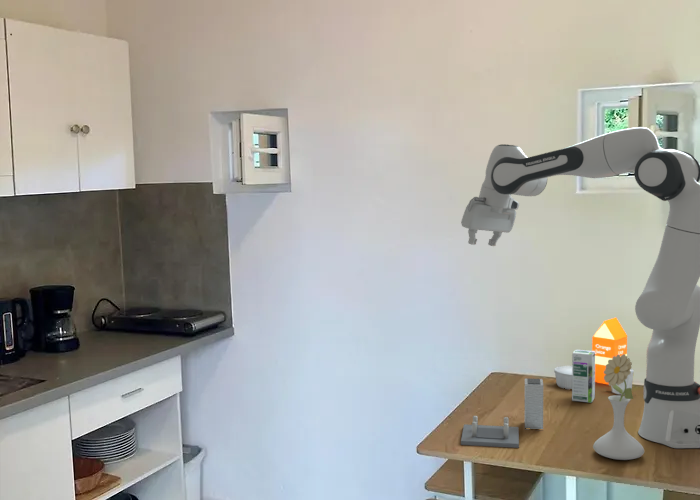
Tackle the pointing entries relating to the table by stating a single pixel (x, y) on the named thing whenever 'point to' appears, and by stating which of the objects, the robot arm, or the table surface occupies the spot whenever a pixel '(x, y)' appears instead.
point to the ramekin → (564, 376)
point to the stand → (490, 435)
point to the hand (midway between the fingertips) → (481, 244)
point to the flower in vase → (618, 415)
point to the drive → (534, 403)
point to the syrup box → (583, 376)
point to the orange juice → (608, 346)
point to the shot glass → (622, 385)
